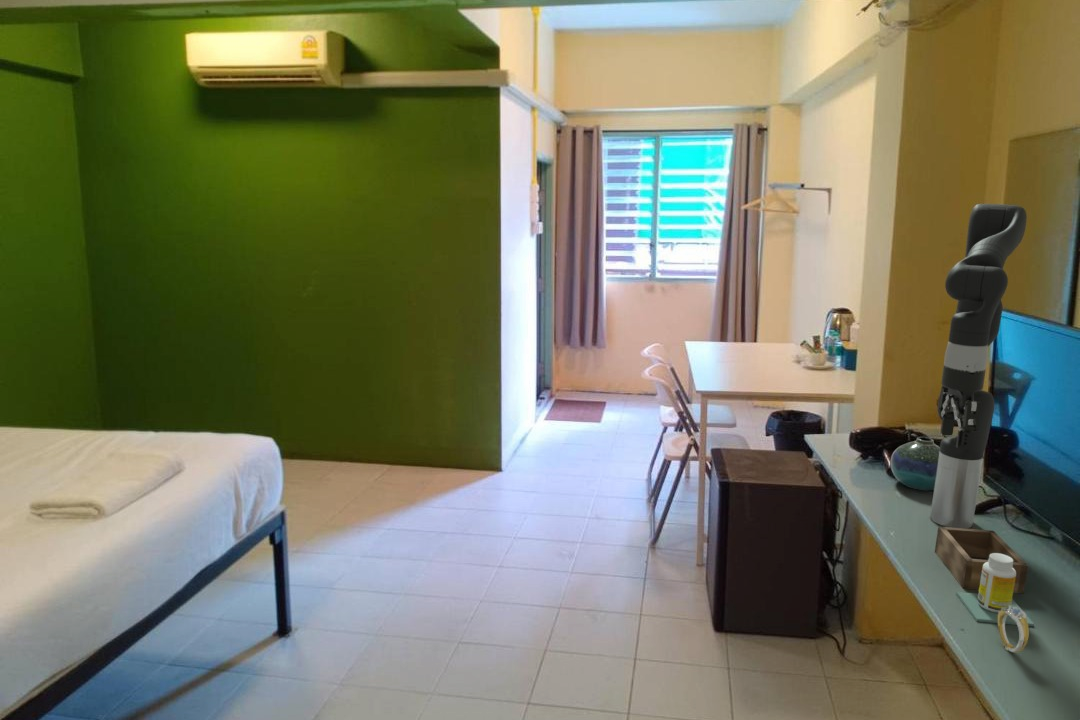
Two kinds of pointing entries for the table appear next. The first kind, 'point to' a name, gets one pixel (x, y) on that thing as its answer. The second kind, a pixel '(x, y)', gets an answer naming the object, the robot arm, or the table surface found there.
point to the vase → (916, 463)
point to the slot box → (974, 555)
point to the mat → (982, 614)
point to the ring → (1023, 631)
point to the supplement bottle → (997, 583)
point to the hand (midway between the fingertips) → (954, 441)
